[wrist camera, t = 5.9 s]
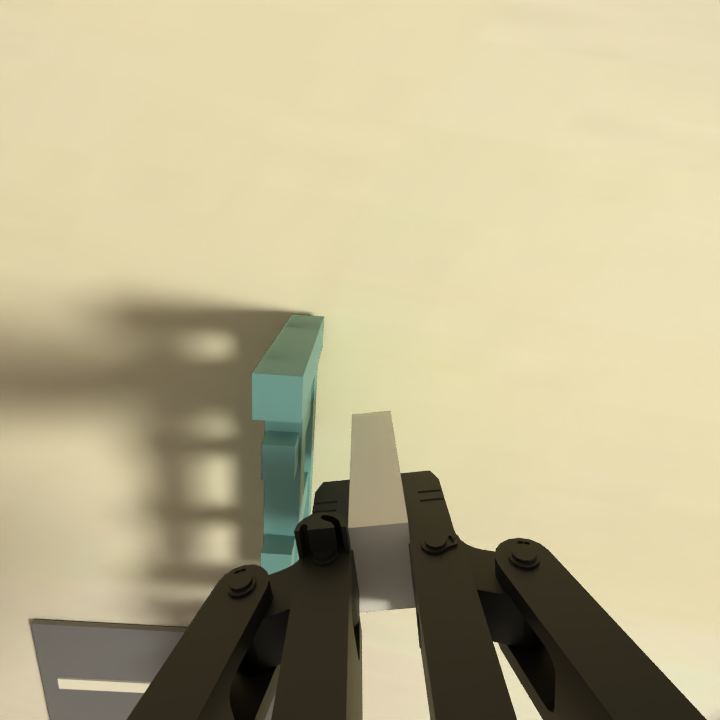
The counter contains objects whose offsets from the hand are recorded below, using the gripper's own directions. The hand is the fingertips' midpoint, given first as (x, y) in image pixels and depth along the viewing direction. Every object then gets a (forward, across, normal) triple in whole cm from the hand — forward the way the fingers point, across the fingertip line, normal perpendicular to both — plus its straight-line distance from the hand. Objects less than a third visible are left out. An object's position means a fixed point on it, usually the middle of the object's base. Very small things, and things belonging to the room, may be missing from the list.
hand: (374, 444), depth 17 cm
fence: (+3, +4, +3) cm, 6 cm away
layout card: (+4, +17, +18) cm, 25 cm away
